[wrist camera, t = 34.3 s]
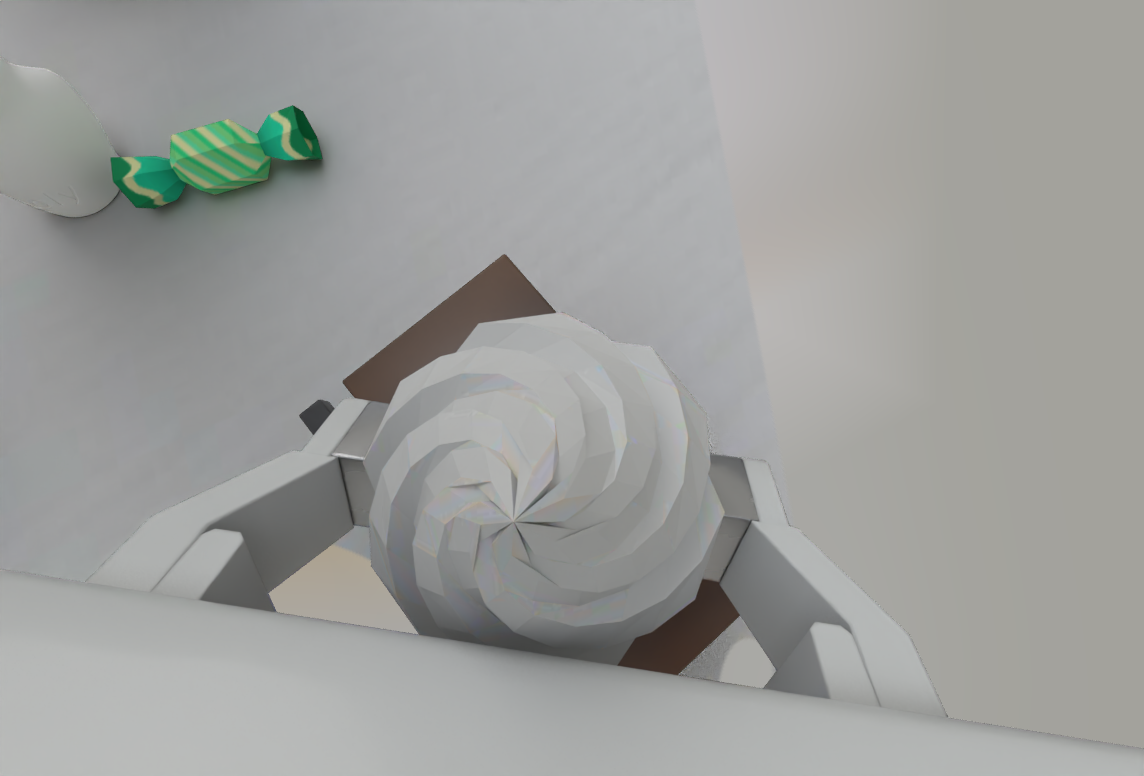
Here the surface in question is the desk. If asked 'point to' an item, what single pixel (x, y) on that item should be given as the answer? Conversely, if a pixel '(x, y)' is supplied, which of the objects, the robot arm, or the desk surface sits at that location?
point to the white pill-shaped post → (51, 144)
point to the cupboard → (443, 333)
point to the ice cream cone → (542, 492)
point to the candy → (215, 158)
